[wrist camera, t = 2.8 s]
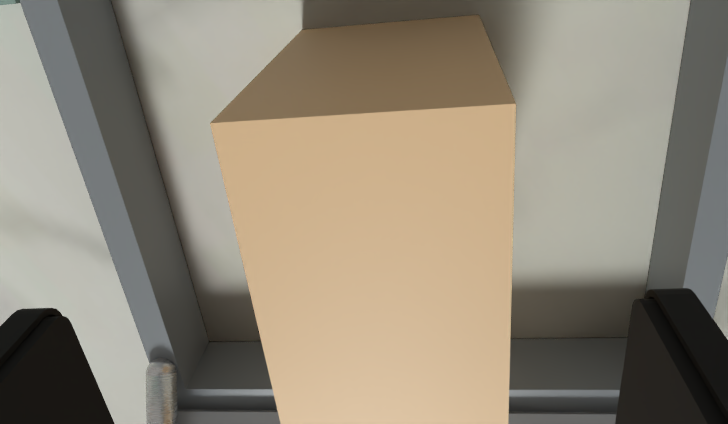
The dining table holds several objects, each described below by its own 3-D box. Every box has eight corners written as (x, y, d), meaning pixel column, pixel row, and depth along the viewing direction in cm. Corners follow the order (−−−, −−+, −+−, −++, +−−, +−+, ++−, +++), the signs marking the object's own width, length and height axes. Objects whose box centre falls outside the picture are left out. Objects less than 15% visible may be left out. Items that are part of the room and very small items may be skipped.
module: (478, 14, 16) (515, 103, 9) (480, 257, 20) (507, 454, 13) (302, 29, 17) (210, 123, 10) (336, 262, 20) (286, 451, 13)
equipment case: (772, -219, 13) (1855, -594, 3) (631, 535, 26) (757, 931, 16) (38, -124, 15) (-656, -164, 6) (241, 522, 28) (139, 858, 18)
